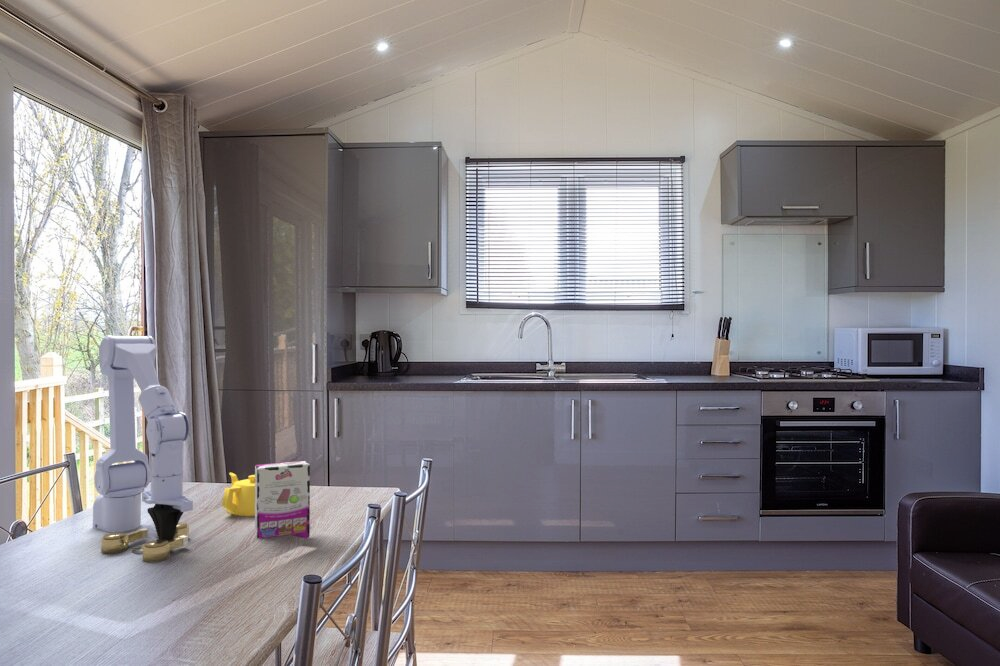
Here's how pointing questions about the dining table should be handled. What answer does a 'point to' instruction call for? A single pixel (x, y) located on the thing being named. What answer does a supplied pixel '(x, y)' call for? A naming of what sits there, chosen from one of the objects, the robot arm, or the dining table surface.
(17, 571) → the dining table surface
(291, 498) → the candy bar box
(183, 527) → the knob rear
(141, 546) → the tribrach plate
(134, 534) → the knob inner
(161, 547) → the knob front
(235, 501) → the teapot
